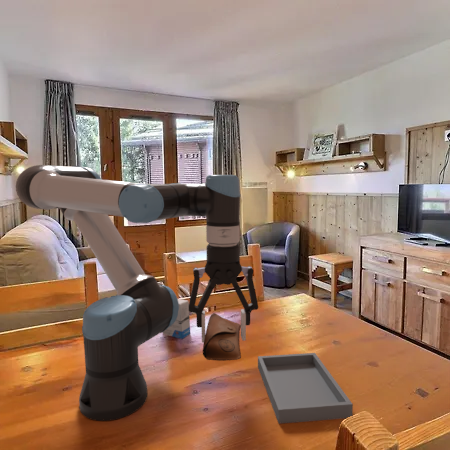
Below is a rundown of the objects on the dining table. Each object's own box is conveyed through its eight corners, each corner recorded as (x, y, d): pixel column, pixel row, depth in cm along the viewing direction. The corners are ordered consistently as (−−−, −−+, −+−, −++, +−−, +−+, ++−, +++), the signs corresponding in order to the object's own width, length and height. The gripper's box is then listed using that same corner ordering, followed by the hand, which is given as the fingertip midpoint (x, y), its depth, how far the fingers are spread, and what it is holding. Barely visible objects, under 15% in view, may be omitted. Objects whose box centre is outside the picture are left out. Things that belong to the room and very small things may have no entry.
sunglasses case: (243, 358, 74) (226, 331, 73) (214, 374, 74) (197, 348, 74) (241, 324, 92) (228, 302, 91) (218, 337, 92) (204, 315, 92)
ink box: (191, 334, 119) (190, 300, 117) (181, 339, 115) (180, 304, 113) (171, 328, 123) (170, 296, 122) (161, 334, 119) (160, 300, 118)
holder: (278, 423, 74) (278, 409, 74) (257, 367, 97) (257, 356, 97) (352, 417, 76) (352, 404, 75) (314, 363, 98) (315, 352, 98)
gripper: (174, 247, 76) (176, 348, 78) (273, 245, 78) (272, 344, 80) (176, 241, 83) (177, 334, 86) (266, 239, 85) (265, 330, 88)
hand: (223, 338), depth 83 cm, fingers closed on sunglasses case, 9 cm apart
